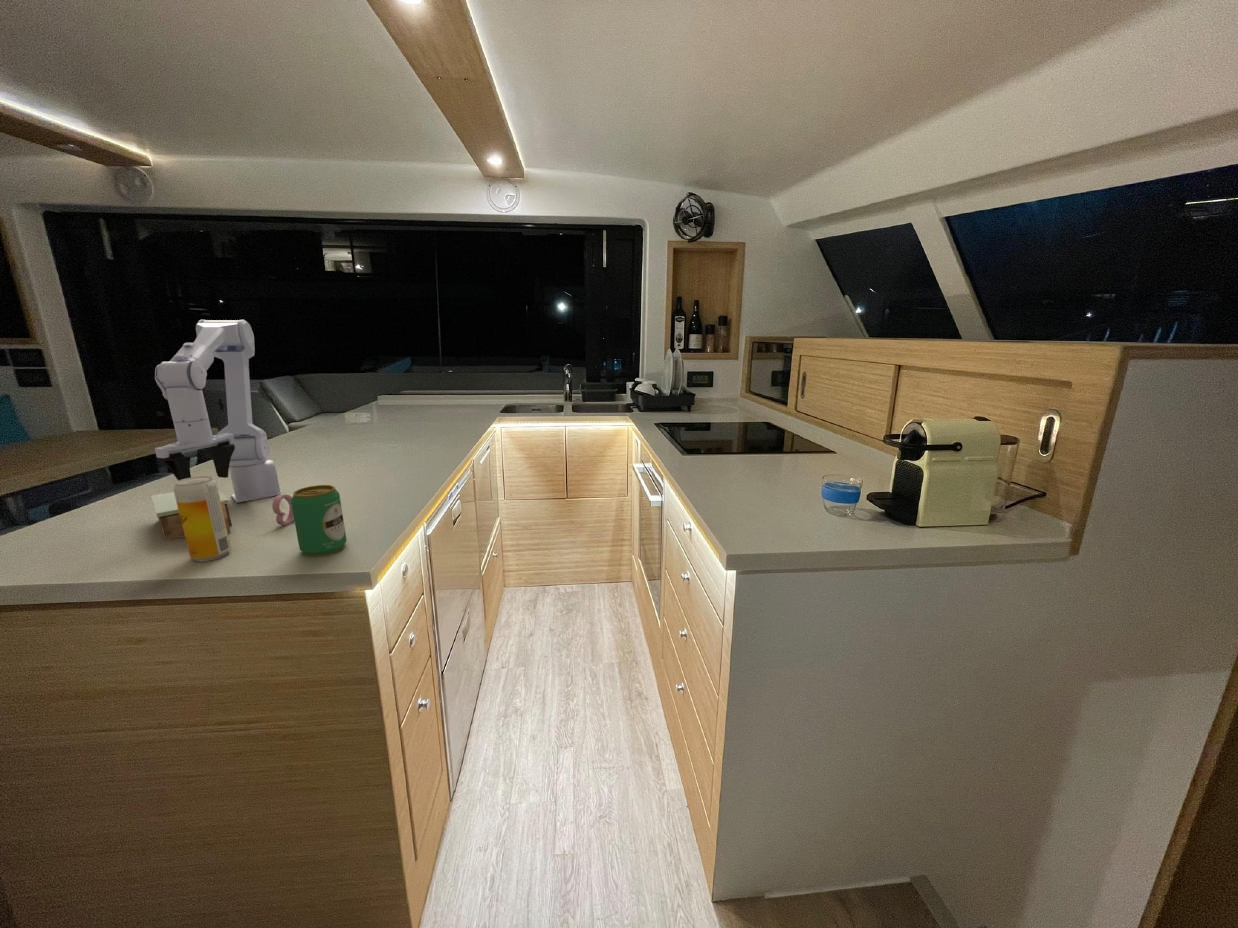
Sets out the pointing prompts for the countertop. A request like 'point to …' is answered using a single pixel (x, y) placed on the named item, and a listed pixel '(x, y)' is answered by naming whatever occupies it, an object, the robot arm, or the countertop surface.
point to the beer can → (202, 518)
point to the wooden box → (178, 525)
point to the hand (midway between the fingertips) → (205, 482)
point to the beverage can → (318, 520)
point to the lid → (173, 503)
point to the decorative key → (280, 515)
